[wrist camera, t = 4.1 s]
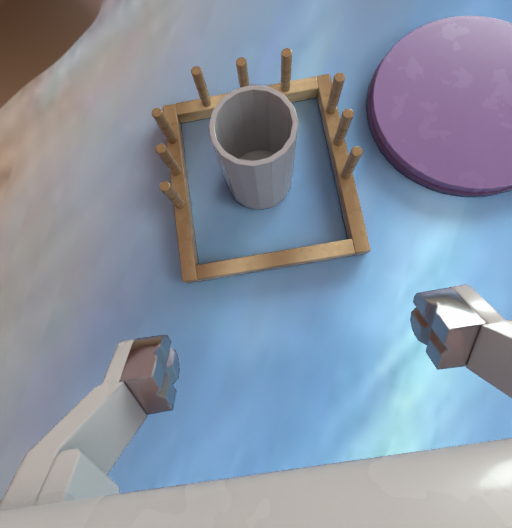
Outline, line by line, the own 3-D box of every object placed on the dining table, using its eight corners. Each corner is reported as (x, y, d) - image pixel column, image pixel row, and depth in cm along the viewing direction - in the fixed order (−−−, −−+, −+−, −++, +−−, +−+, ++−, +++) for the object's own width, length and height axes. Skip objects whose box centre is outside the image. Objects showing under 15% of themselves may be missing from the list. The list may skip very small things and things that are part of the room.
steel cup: (251, 221, 26) (241, 182, 18) (216, 173, 27) (192, 116, 19) (304, 185, 26) (315, 132, 18) (268, 139, 27) (264, 69, 19)
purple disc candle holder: (452, 235, 24) (462, 231, 23) (329, 92, 27) (331, 82, 26) (611, 123, 25) (627, 114, 24) (473, -5, 28) (481, -19, 27)
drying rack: (186, 283, 25) (165, 276, 20) (167, 114, 28) (144, 73, 23) (366, 253, 25) (387, 238, 20) (327, 83, 27) (337, 35, 23)
